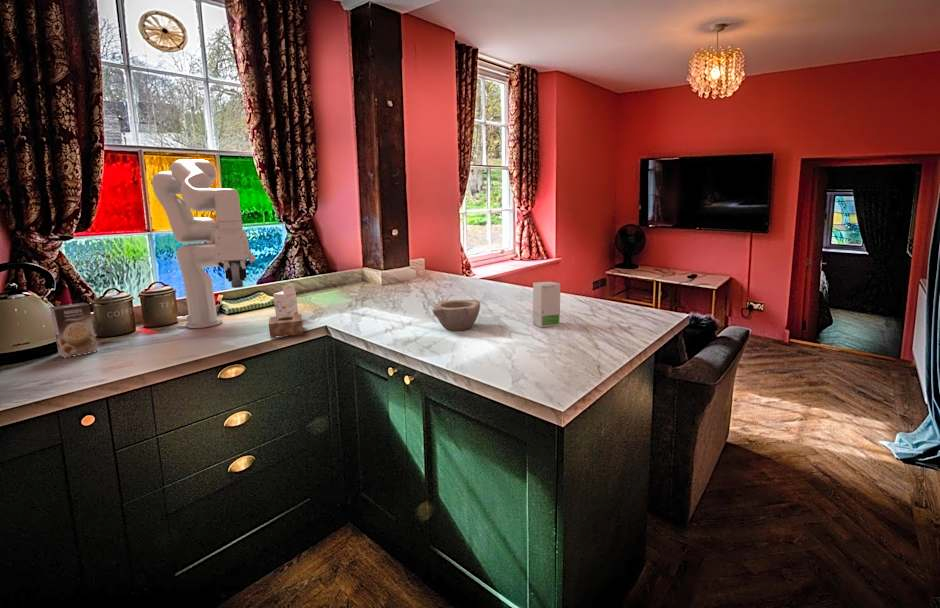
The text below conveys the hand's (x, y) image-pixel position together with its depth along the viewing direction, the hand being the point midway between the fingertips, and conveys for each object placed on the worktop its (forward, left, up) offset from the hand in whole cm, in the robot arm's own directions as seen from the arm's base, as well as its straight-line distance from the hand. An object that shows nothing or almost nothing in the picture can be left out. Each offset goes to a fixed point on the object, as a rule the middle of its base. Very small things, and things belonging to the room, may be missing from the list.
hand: (236, 280), depth 169 cm
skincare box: (+104, -27, -21) cm, 110 cm away
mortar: (+73, -17, -21) cm, 78 cm away
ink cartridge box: (+14, +22, -21) cm, 33 cm away
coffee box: (-50, +4, -21) cm, 54 cm away
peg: (0, 0, -2) cm, 2 cm away
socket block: (+14, +3, -21) cm, 25 cm away
